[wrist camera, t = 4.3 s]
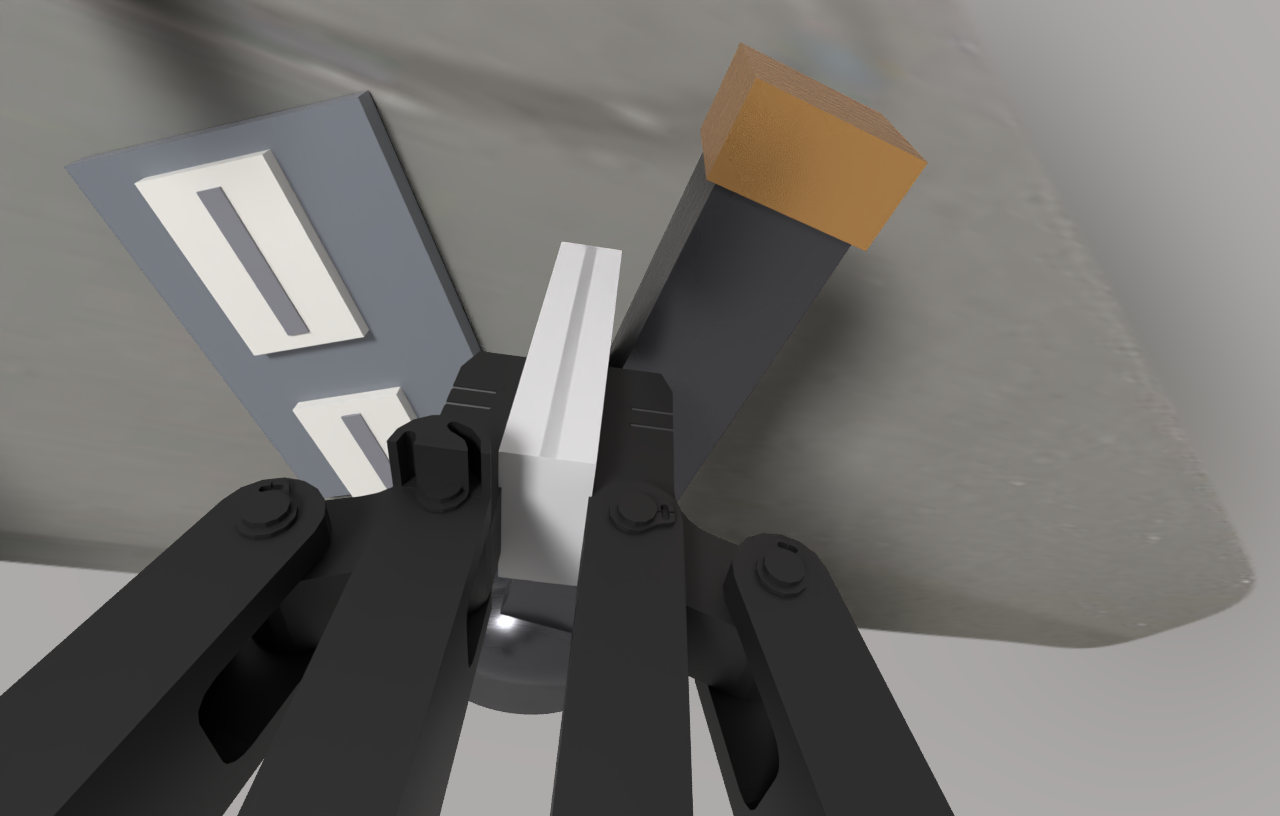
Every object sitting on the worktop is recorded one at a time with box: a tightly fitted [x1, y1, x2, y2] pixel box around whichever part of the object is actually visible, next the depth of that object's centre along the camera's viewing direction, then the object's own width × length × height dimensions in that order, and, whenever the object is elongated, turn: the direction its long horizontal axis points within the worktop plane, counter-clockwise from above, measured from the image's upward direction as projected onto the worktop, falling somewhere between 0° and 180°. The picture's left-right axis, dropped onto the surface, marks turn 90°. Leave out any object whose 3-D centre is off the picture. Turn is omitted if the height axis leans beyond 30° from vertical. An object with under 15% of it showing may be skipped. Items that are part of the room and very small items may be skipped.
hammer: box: [469, 42, 928, 714], centre depth 17 cm, size 20×5×3 cm, turn 157°
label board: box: [64, 91, 481, 498], centre depth 24 cm, size 10×16×1 cm, turn 12°
